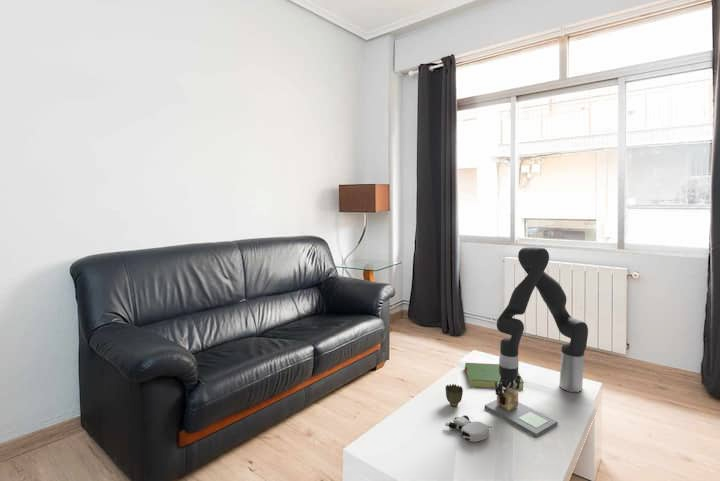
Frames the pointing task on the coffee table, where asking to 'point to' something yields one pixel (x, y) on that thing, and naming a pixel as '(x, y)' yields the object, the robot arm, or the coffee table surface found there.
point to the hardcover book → (485, 374)
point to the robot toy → (470, 428)
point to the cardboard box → (509, 399)
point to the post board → (523, 418)
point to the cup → (454, 394)
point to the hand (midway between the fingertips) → (507, 401)
